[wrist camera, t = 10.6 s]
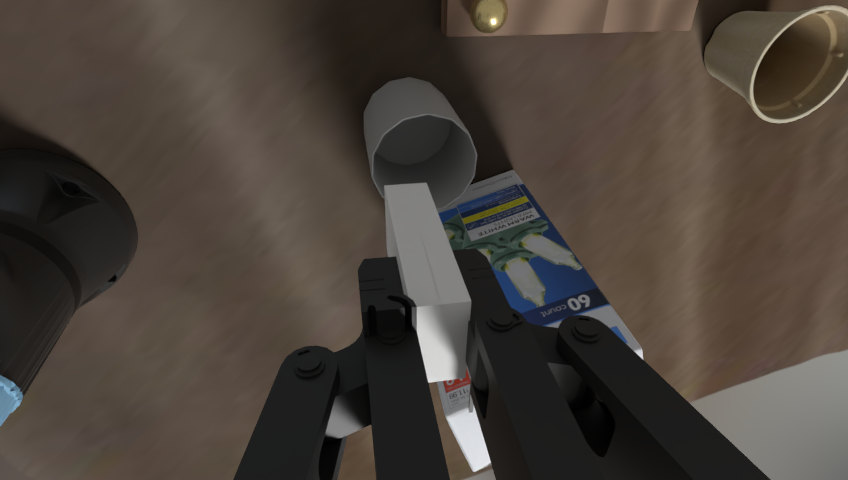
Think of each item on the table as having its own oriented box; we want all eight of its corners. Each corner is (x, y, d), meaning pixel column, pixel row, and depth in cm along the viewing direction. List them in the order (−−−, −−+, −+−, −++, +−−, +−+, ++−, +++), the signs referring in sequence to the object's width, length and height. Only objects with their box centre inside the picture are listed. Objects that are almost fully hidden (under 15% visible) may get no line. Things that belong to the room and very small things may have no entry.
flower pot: (797, 34, 48) (879, 54, 41) (719, 112, 52) (782, 143, 44) (750, -32, 44) (832, -23, 37) (668, 57, 47) (729, 82, 40)
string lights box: (514, 166, 51) (648, 344, 30) (528, 224, 55) (654, 416, 34) (394, 211, 52) (442, 417, 30) (417, 265, 56) (473, 478, 35)
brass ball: (464, 30, 41) (473, 37, 38) (466, -11, 39) (476, -6, 36) (500, 29, 41) (511, 36, 38) (503, -12, 39) (515, -7, 37)
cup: (389, 60, 43) (403, 94, 35) (466, 101, 47) (496, 141, 38) (348, 142, 47) (353, 190, 39) (423, 176, 50) (442, 226, 42)
